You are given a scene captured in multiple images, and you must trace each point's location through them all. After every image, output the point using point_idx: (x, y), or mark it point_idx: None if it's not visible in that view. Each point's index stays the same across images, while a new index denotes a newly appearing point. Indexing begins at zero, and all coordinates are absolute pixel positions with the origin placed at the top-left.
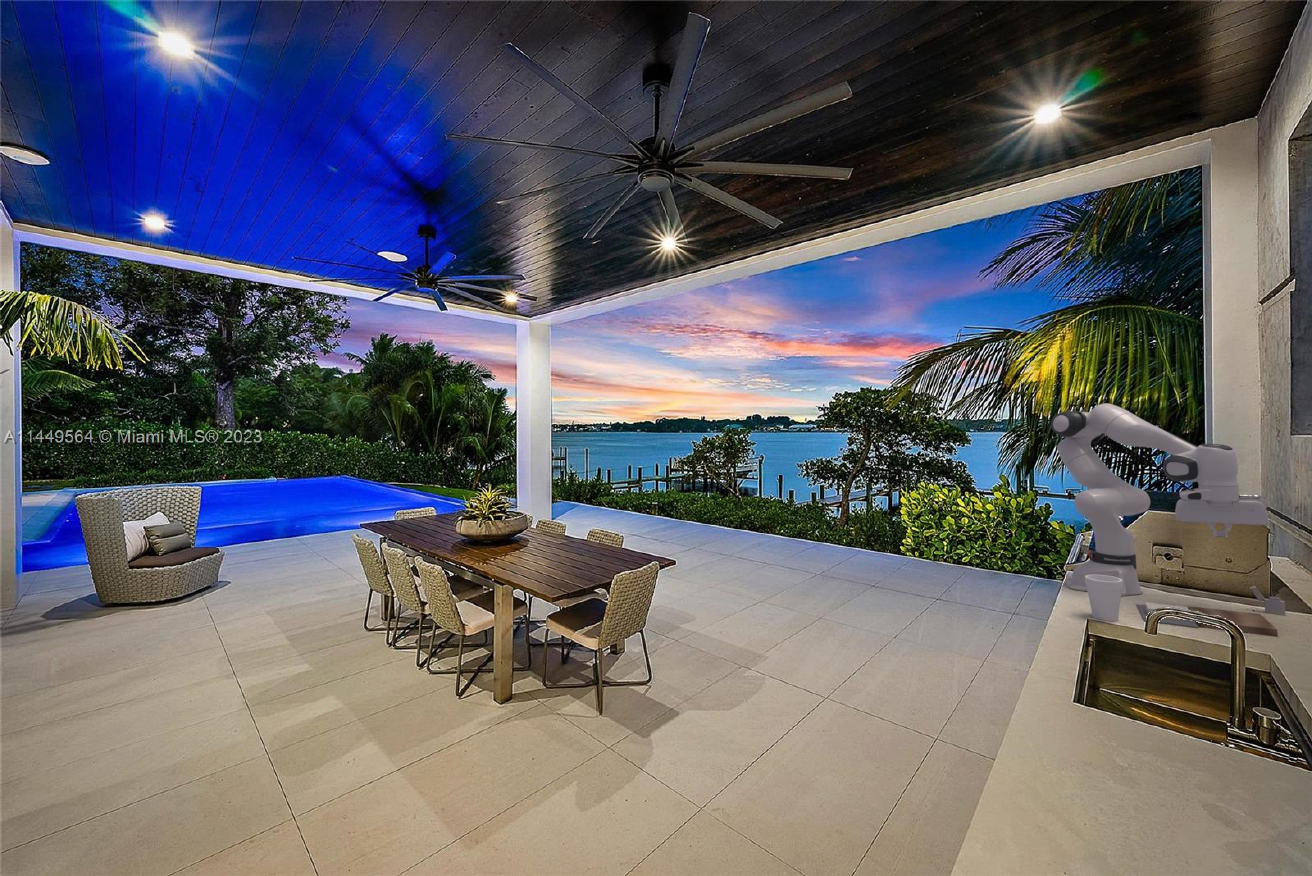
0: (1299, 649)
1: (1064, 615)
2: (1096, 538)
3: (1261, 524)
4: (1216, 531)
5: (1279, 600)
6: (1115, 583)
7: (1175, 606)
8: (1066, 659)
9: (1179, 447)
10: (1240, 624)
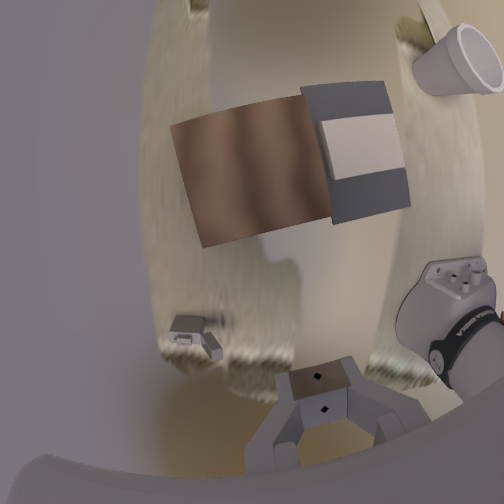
0: (147, 70)
1: None
2: None
3: (53, 457)
4: (353, 387)
5: (176, 337)
6: (457, 27)
7: (355, 167)
8: None
9: None
10: (230, 115)
